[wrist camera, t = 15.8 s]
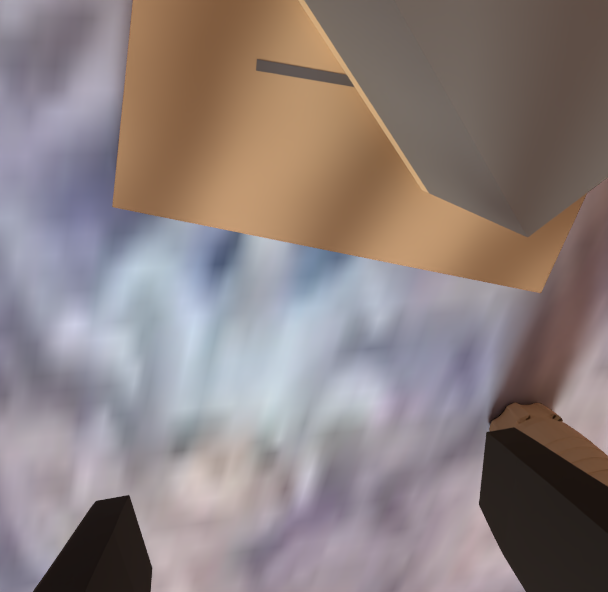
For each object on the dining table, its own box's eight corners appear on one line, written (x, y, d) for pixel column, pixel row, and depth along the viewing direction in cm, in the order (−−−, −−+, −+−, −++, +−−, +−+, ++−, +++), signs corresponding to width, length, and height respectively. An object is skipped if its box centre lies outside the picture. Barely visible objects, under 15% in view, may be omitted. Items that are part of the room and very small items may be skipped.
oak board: (120, 199, 15) (111, 207, 14) (170, -280, 11) (164, -322, 10) (522, 282, 19) (541, 293, 18) (671, -55, 15) (708, -67, 14)
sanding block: (272, -39, 12) (308, -151, 7) (409, -166, 12) (566, -397, 6) (421, 190, 16) (527, 237, 10) (535, 99, 15) (713, 97, 9)
